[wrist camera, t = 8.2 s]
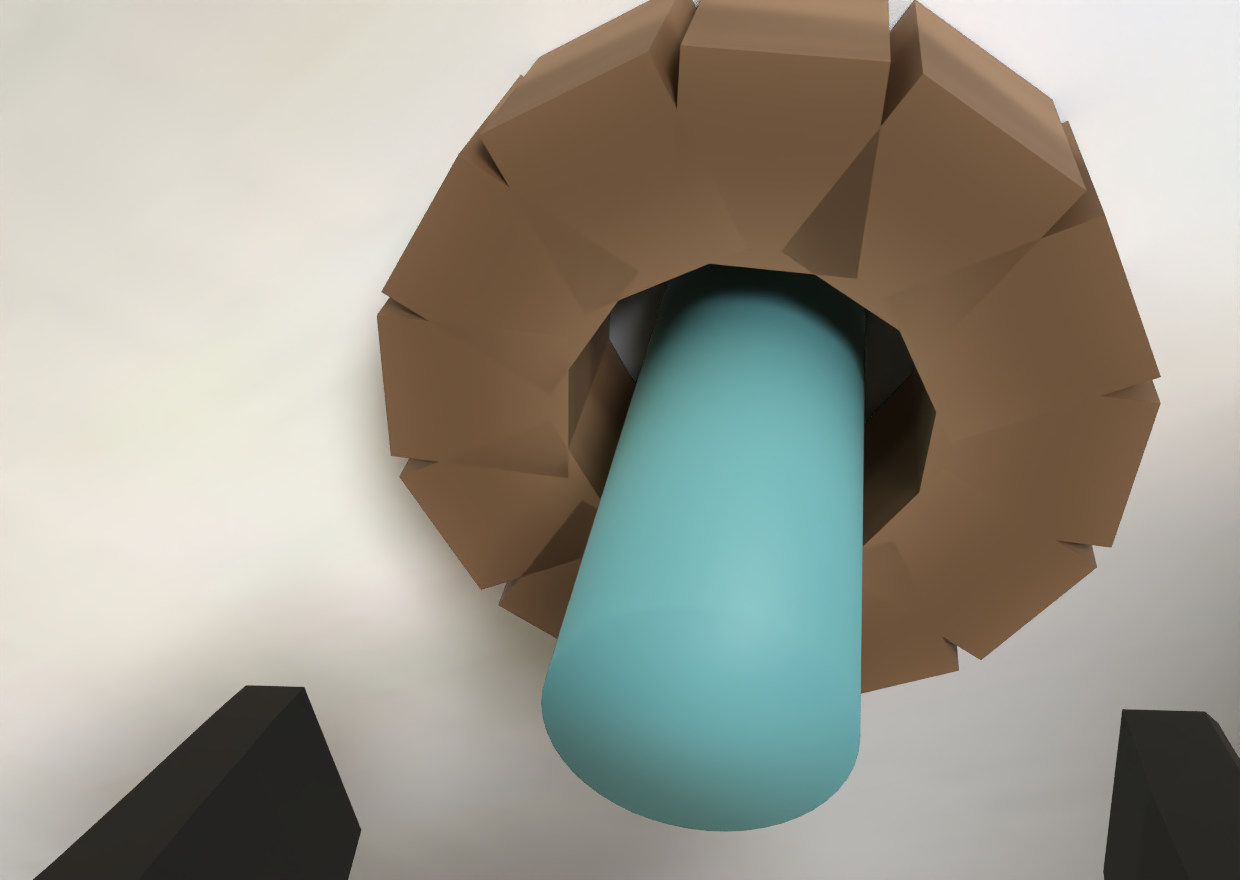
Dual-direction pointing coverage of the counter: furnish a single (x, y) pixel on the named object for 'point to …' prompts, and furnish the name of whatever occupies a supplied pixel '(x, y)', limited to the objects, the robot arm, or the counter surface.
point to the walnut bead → (794, 242)
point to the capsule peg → (725, 563)
